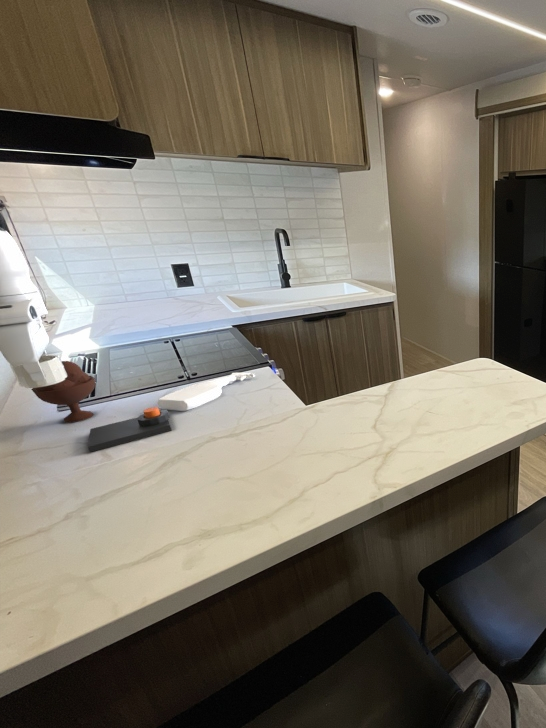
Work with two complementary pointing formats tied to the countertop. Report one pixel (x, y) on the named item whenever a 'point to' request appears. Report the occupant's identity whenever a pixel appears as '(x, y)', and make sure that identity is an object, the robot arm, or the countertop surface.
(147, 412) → the button
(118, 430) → the scale
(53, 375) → the small bowl
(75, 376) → the ice cream bowl
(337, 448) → the countertop surface
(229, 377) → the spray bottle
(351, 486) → the countertop surface
